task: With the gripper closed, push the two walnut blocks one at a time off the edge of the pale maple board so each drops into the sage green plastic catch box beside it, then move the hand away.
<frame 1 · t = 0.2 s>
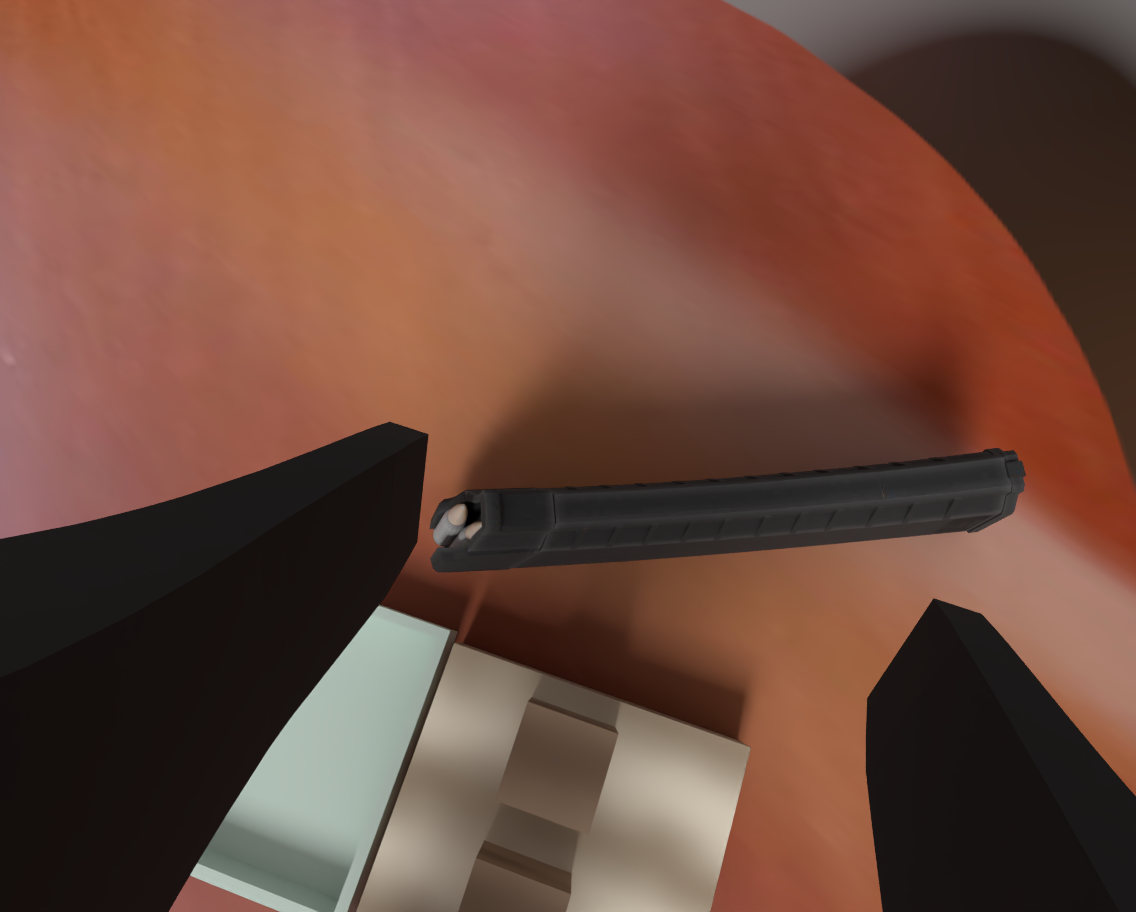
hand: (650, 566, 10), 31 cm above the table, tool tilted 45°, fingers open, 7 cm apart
maple board: (557, 822, 37), on the table
walnut block a: (512, 906, 34), point 3 cm above the table, touching maple board
magazine: (700, 530, 42), on the table
catch box: (316, 732, 39), on the table
walnut block b: (559, 756, 35), point 3 cm above the table, touching maple board
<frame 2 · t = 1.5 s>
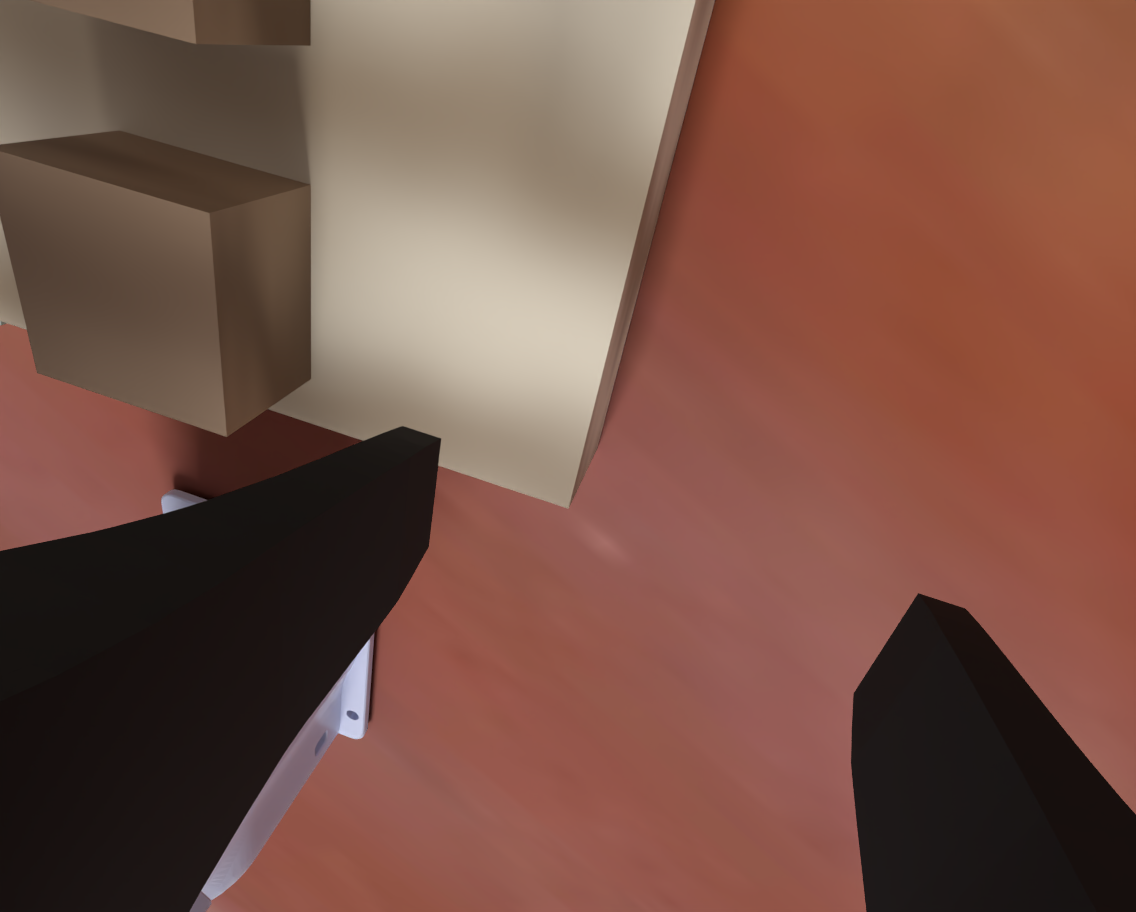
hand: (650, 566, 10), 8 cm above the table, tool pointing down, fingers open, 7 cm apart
maple board: (335, 95, 16), on the table
walnut block a: (220, 262, 16), point 3 cm above the table, touching maple board
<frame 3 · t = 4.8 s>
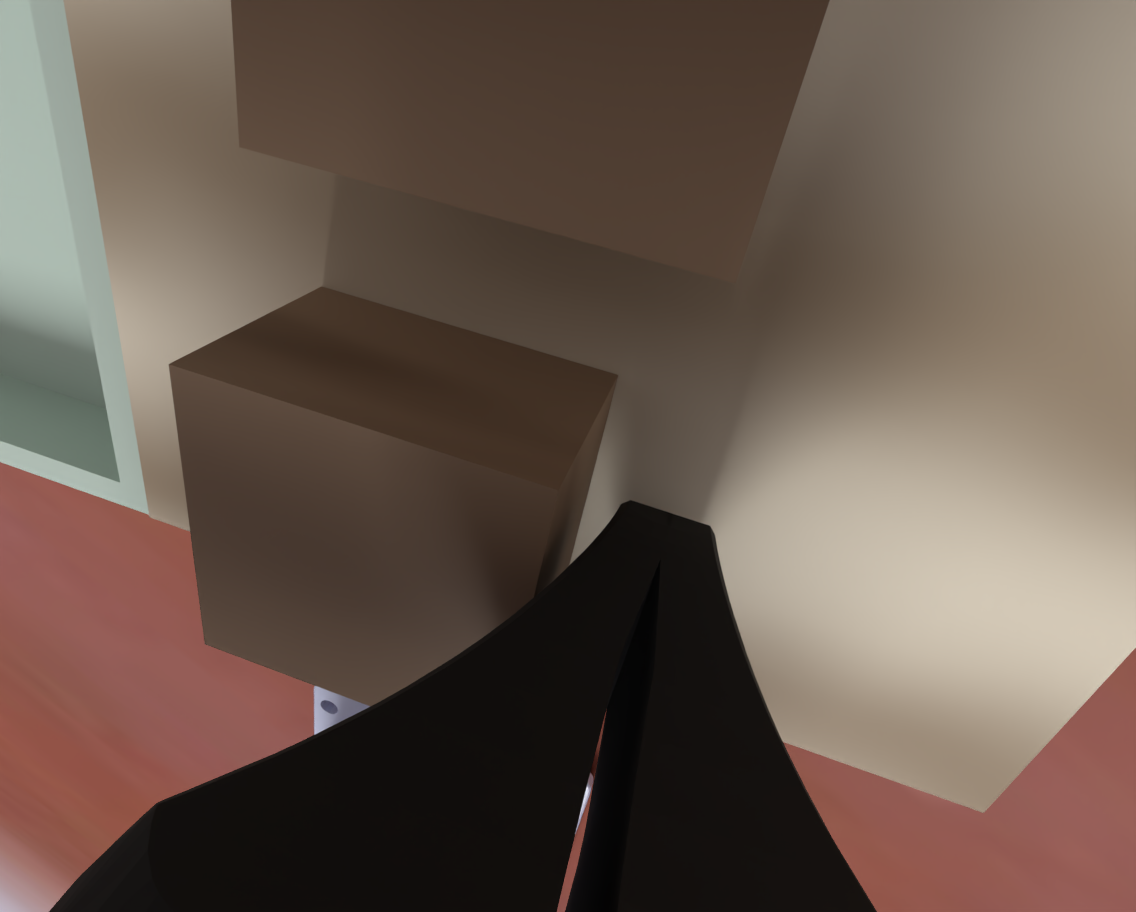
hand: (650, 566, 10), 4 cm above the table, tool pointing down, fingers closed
maple board: (659, 234, 11), on the table
walnut block a: (449, 460, 11), point 3 cm above the table, touching gripper
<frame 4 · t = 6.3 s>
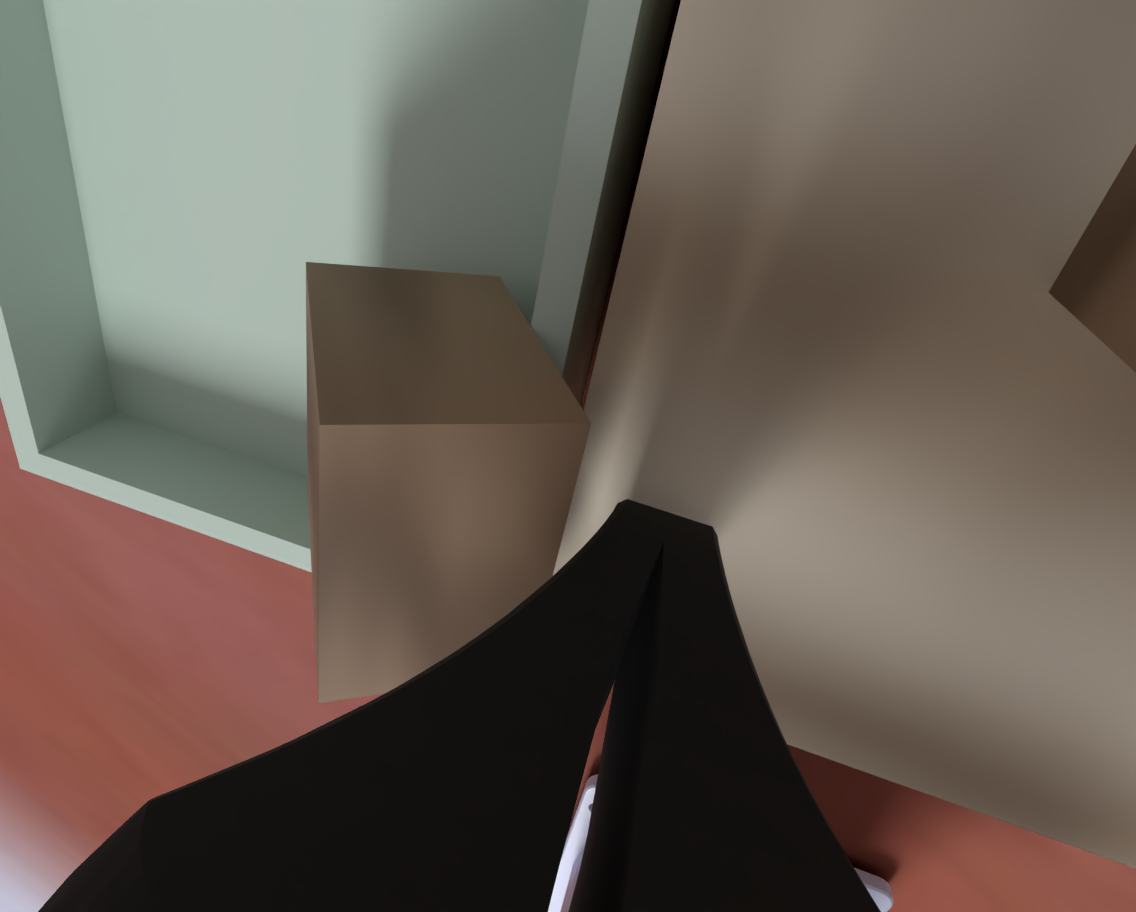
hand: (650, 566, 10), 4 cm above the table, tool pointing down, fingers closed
walnut block a: (513, 466, 11), point 3 cm above the table, tilted 56°
catch box: (321, 143, 12), on the table
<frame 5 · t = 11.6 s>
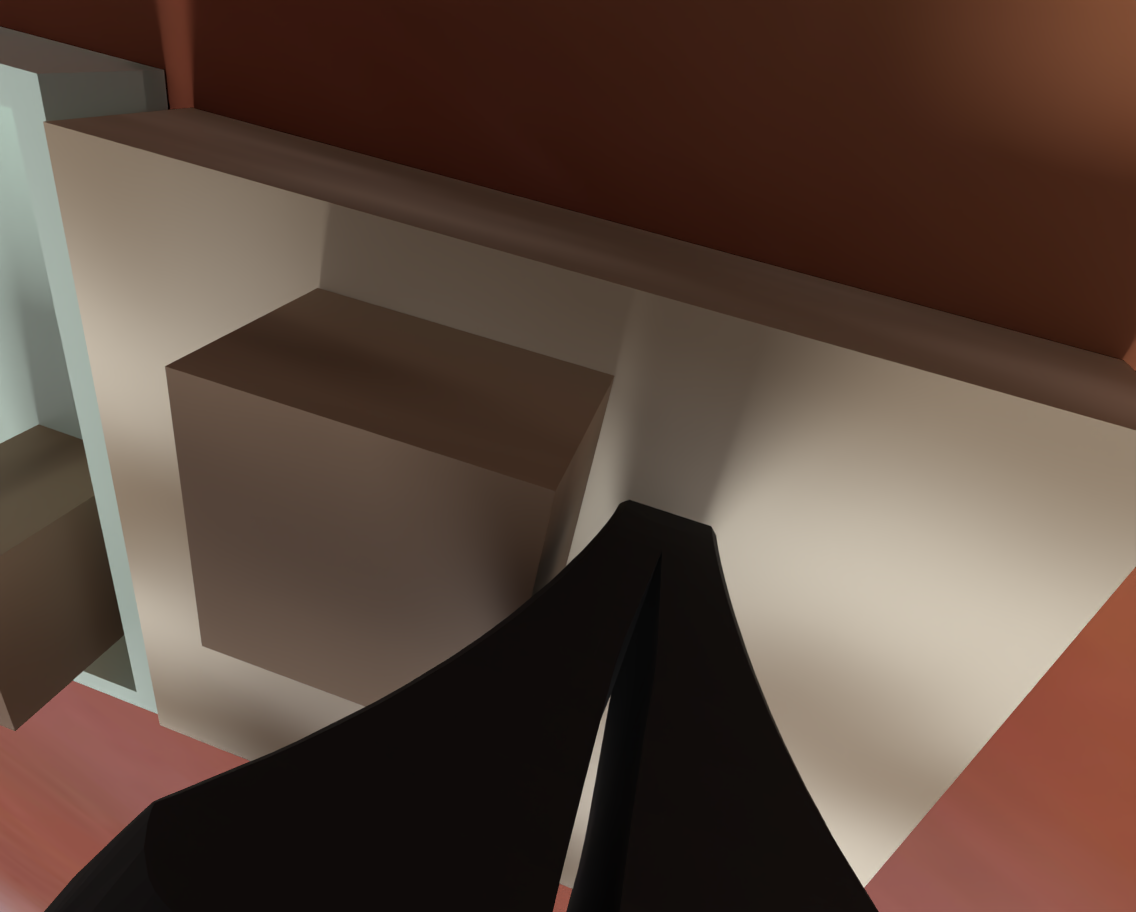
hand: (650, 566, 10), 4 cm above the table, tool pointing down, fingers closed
maple board: (544, 543, 15), on the table
walnut block a: (83, 590, 16), point 3 cm above the table, tilted 90°, touching catch box
catch box: (2, 362, 17), on the table
walnut block b: (446, 461, 11), point 3 cm above the table, touching gripper, maple board
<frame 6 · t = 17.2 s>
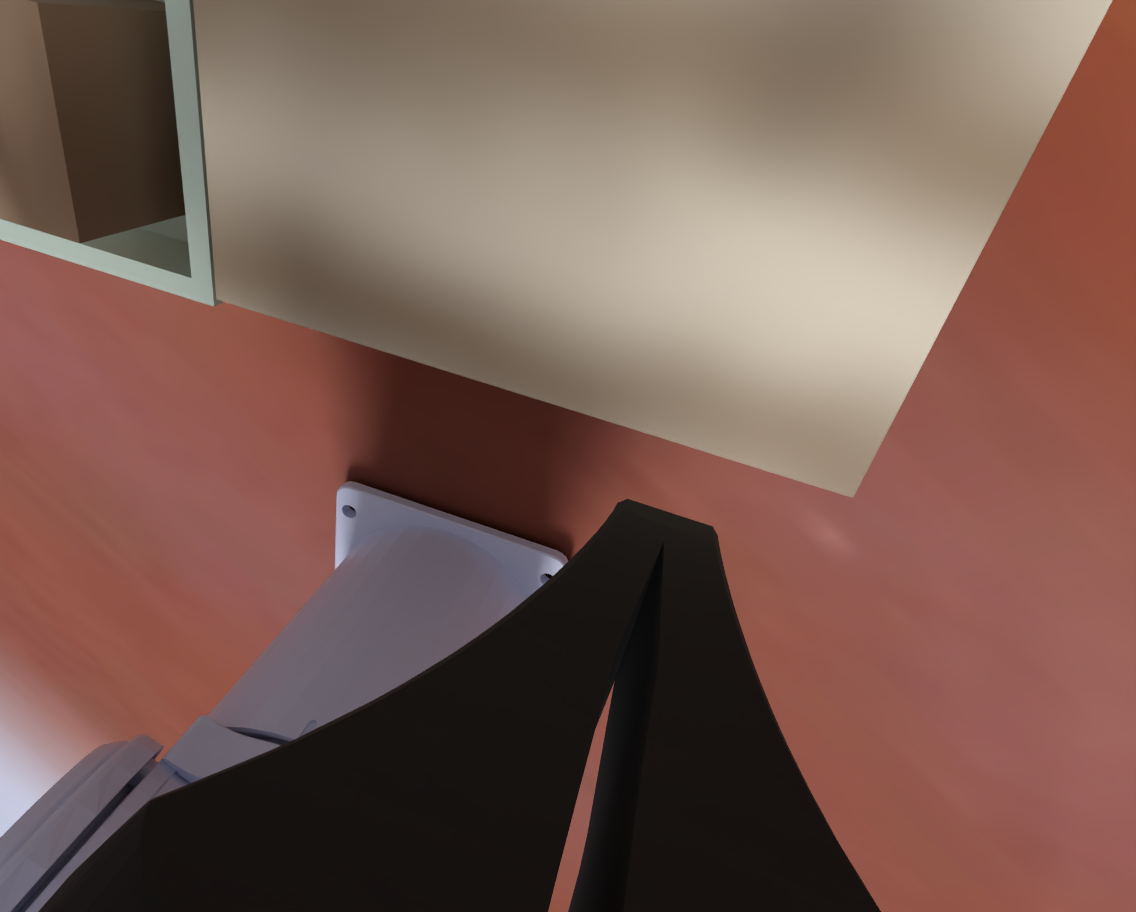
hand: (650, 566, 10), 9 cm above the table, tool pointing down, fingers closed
maple board: (610, 58, 15), on the table
walnut block a: (145, 123, 16), point 3 cm above the table, tilted 90°, touching catch box
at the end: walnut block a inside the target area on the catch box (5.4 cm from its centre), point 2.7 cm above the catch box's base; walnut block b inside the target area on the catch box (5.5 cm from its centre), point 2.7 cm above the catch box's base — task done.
